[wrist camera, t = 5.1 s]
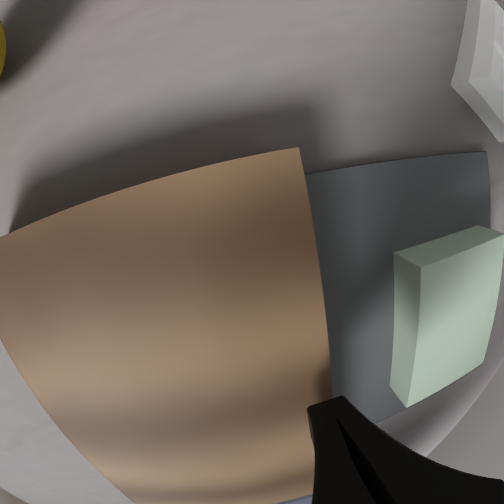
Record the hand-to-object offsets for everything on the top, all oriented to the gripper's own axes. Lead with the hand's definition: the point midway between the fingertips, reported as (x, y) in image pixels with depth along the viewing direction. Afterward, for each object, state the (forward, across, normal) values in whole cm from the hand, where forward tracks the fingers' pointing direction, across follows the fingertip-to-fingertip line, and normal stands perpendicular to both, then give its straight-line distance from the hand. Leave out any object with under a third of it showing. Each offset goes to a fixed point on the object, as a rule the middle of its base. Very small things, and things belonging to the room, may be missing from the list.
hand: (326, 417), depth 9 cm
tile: (+1, -8, 0) cm, 8 cm away
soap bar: (+4, -15, -14) cm, 21 cm away
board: (+4, +6, 0) cm, 7 cm away
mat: (+4, -6, 0) cm, 8 cm away
